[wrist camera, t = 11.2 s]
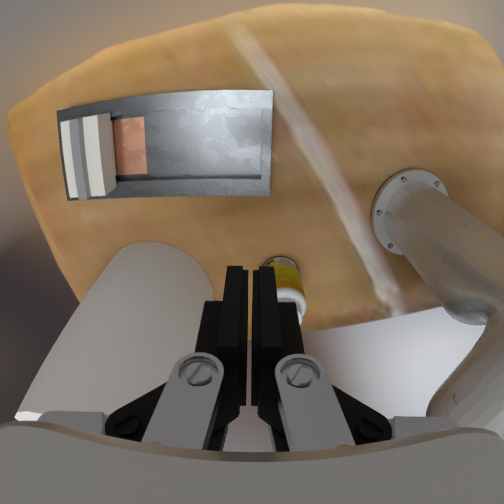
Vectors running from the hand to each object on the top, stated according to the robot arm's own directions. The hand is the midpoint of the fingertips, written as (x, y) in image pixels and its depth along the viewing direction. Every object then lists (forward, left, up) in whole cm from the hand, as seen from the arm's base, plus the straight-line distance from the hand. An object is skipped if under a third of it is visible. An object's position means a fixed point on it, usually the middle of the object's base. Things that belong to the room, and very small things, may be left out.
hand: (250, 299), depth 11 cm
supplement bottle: (-4, +16, -27) cm, 32 cm away
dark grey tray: (+11, -2, -27) cm, 29 cm away
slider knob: (+19, -2, -25) cm, 31 cm away
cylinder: (+14, +20, -27) cm, 37 cm away
